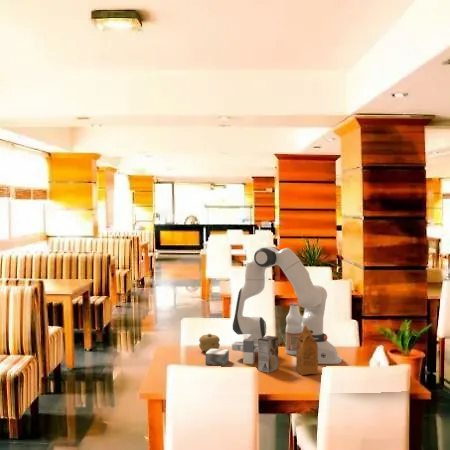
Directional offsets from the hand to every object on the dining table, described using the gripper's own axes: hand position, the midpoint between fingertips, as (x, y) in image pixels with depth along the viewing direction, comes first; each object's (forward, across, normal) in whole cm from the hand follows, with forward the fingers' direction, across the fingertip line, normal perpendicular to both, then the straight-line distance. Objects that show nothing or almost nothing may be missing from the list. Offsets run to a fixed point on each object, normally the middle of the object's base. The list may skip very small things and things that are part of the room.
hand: (248, 350), depth 292 cm
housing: (-1, 0, +6) cm, 7 cm away
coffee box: (+10, +12, +7) cm, 17 cm away
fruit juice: (-26, +21, +7) cm, 34 cm away
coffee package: (+10, +31, +7) cm, 33 cm away
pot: (-19, -26, +7) cm, 33 cm away
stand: (+3, -16, +6) cm, 18 cm away
